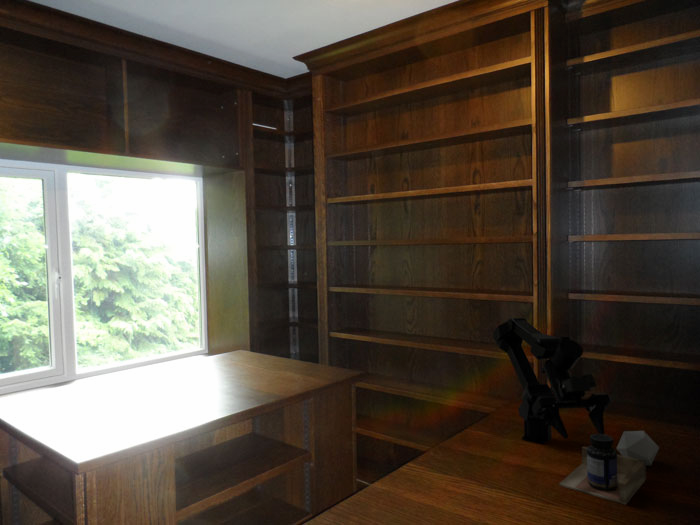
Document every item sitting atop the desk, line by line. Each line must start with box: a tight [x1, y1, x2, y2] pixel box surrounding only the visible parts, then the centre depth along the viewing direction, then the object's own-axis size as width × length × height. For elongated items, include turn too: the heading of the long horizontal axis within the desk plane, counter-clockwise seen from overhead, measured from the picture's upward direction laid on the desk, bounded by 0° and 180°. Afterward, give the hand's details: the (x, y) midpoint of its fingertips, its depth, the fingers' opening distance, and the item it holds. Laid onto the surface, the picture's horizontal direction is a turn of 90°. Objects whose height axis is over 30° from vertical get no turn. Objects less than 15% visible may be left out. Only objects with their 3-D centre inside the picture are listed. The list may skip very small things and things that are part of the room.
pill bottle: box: [587, 433, 618, 491], centre depth 116 cm, size 6×6×11 cm
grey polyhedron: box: [615, 430, 660, 466], centre depth 129 cm, size 8×9×10 cm
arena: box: [558, 446, 647, 505], centre depth 119 cm, size 14×16×4 cm
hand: (584, 437), depth 123 cm, fingers open, 9 cm apart
